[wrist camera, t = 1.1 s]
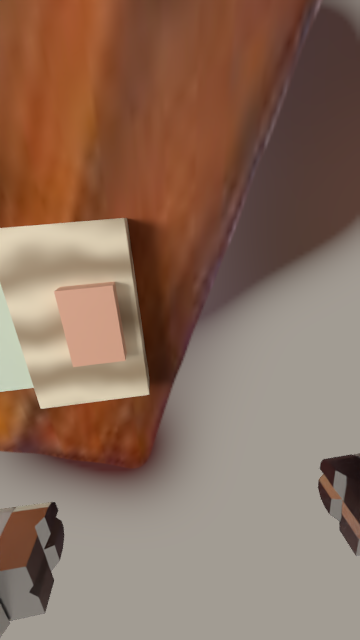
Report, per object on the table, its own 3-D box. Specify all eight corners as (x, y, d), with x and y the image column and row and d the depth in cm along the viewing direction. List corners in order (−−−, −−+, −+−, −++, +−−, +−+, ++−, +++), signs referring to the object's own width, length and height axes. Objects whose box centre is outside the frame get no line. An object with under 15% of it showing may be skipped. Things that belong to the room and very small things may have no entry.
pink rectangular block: (59, 286, 30) (54, 291, 28) (114, 281, 30) (112, 285, 28) (77, 358, 33) (73, 367, 31) (126, 352, 33) (125, 360, 31)
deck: (3, 228, 31) (-17, 229, 27) (126, 218, 32) (124, 217, 28) (51, 390, 38) (40, 408, 35) (149, 378, 39) (149, 394, 36)
